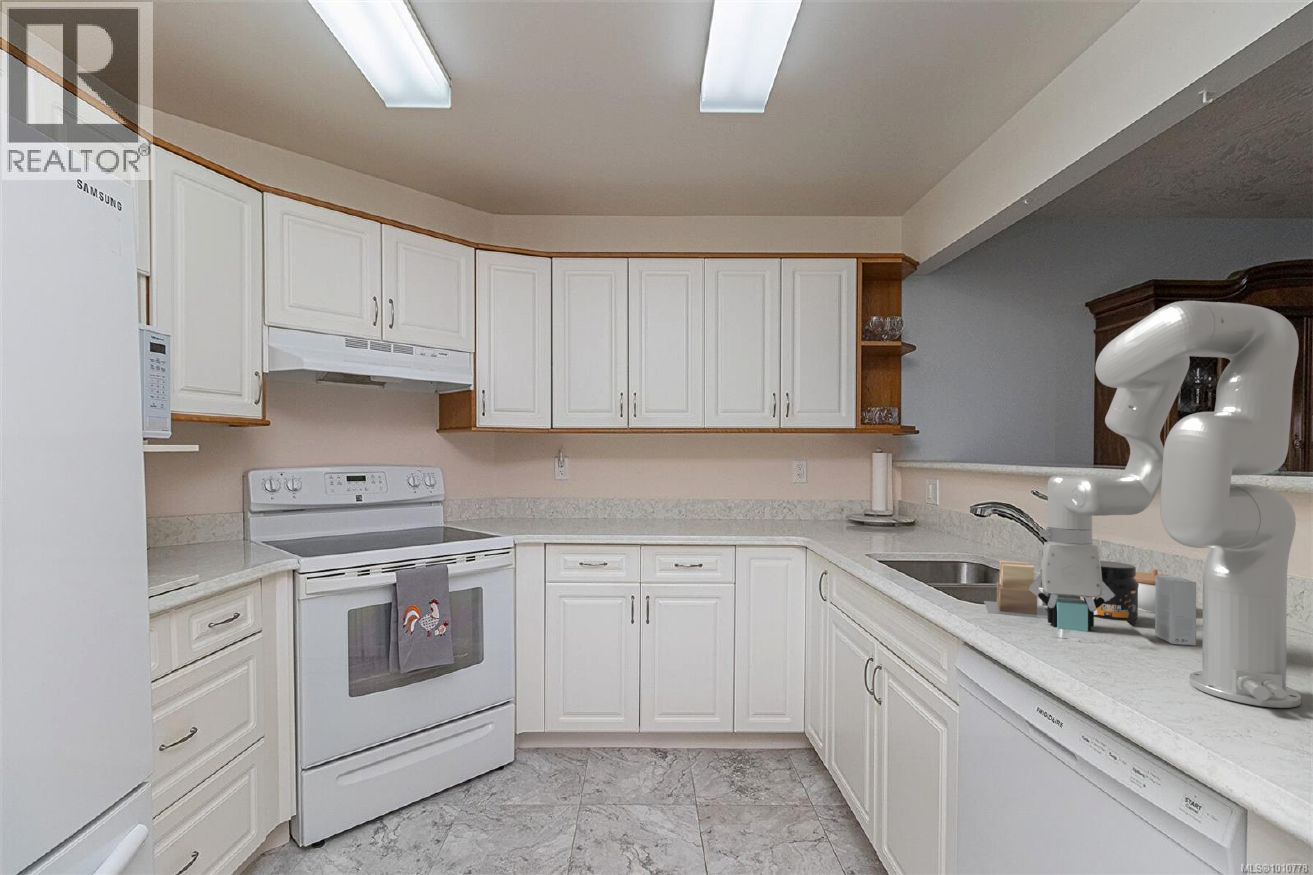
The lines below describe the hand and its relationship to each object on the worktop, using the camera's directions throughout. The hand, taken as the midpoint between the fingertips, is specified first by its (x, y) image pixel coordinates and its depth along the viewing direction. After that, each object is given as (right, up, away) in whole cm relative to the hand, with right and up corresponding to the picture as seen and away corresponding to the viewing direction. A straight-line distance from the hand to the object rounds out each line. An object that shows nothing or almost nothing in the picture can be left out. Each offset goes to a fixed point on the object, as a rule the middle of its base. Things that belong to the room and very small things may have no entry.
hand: (1070, 627), depth 131 cm
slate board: (-3, -1, +14) cm, 14 cm away
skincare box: (+17, -1, -5) cm, 18 cm away
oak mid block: (-3, +5, +14) cm, 15 cm away
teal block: (0, -1, 0) cm, 1 cm away
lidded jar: (+31, -2, +19) cm, 37 cm away
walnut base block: (-3, 0, +14) cm, 14 cm away
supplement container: (+15, -2, +11) cm, 18 cm away
